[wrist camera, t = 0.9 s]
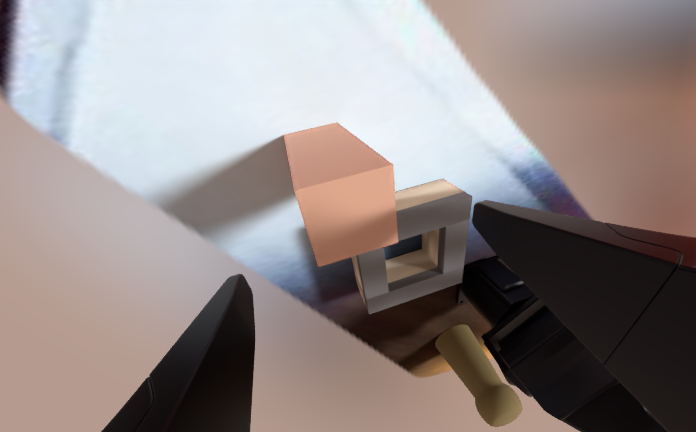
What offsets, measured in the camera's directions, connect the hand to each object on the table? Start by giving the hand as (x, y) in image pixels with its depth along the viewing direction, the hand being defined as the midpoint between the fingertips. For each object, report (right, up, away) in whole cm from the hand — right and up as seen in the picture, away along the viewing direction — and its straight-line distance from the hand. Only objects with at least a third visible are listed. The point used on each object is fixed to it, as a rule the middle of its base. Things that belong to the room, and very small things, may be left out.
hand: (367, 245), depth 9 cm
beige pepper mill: (+16, -18, +29) cm, 38 cm away
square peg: (-3, +6, +10) cm, 12 cm away
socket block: (+4, -1, +16) cm, 16 cm away
